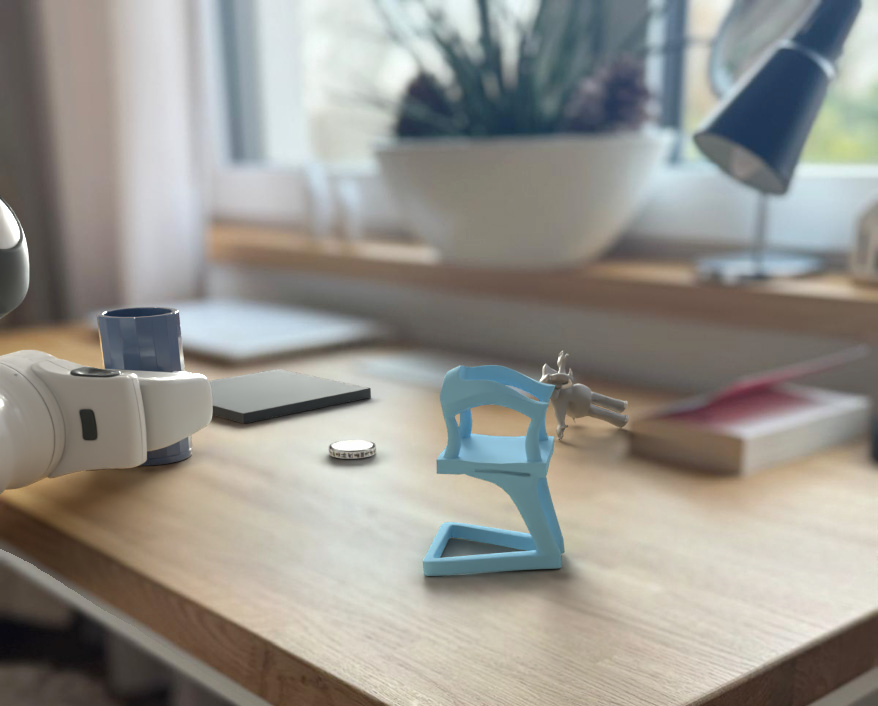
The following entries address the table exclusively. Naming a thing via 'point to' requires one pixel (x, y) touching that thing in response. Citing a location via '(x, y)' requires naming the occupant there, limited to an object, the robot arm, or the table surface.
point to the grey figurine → (579, 399)
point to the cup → (145, 355)
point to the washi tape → (352, 449)
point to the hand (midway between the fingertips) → (134, 378)
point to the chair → (499, 472)
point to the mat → (278, 394)
